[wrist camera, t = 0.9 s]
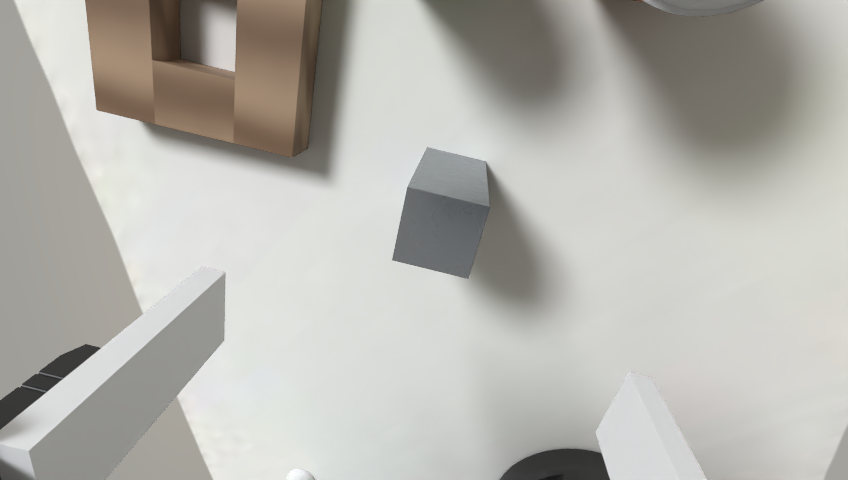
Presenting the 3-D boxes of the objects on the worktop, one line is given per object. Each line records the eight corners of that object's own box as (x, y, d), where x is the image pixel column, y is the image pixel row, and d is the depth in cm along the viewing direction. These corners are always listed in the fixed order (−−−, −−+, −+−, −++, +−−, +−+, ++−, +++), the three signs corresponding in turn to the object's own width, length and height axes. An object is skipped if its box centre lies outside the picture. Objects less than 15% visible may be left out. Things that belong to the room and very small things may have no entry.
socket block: (307, 148, 32) (292, 157, 30) (128, 104, 33) (96, 110, 30) (329, -72, 27) (313, -86, 24) (111, -124, 27) (70, -144, 24)
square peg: (470, 216, 33) (468, 278, 24) (414, 202, 33) (392, 260, 24) (485, 161, 31) (489, 206, 22) (427, 147, 31) (407, 186, 22)
